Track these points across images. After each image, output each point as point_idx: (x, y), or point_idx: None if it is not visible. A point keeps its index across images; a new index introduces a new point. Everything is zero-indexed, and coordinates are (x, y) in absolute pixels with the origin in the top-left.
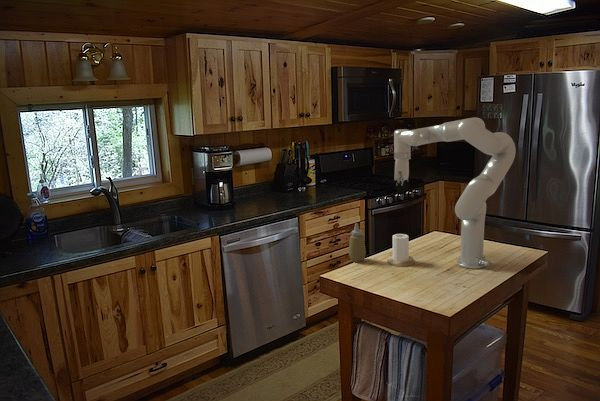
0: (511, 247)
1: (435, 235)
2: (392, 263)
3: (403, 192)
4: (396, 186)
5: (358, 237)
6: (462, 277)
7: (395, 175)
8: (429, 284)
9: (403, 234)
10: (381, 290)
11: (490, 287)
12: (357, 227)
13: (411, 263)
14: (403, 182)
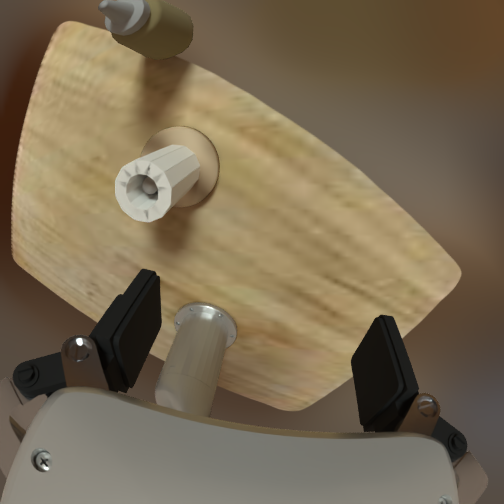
0: (325, 388)
1: (442, 270)
2: (144, 148)
3: (154, 333)
4: (103, 323)
5: (112, 33)
6: None
7: (21, 457)
8: (73, 240)
9: (165, 201)
10: (28, 158)
11: None
12: (105, 15)
13: None
14: (385, 399)
